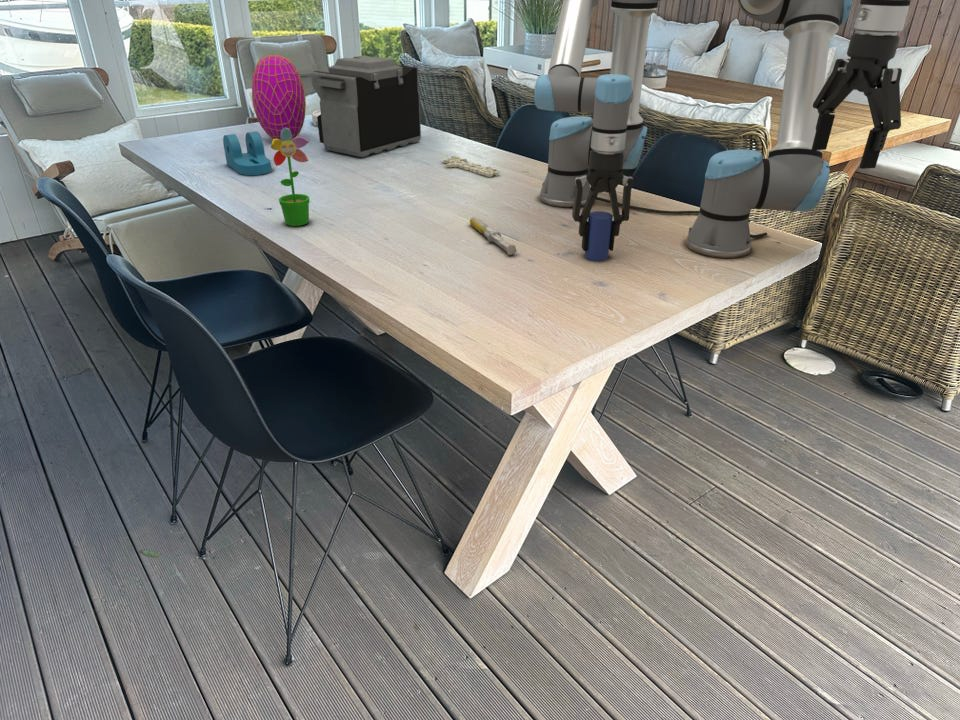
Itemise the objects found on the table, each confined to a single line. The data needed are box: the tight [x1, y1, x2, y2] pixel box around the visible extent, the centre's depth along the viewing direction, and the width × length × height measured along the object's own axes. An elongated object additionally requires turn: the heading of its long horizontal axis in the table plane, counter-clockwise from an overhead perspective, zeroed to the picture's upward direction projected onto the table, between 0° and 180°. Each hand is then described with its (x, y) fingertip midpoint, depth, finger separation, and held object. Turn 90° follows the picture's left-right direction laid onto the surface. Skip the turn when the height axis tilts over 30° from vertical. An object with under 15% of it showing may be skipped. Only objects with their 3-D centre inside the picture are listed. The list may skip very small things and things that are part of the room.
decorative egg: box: [251, 54, 307, 141], centre depth 257 cm, size 19×19×30 cm
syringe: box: [469, 216, 518, 256], centre depth 174 cm, size 25×4×3 cm, turn 21°
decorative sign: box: [442, 155, 499, 178], centre depth 232 cm, size 26×1×10 cm
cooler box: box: [310, 55, 422, 159], centre depth 250 cm, size 37×22×30 cm, turn 144°
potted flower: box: [270, 128, 310, 227], centre depth 177 cm, size 9×8×25 cm
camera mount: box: [222, 131, 272, 176], centre depth 226 cm, size 18×10×10 cm, turn 35°
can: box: [584, 210, 614, 262], centre depth 163 cm, size 6×6×10 cm
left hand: (597, 248), depth 164 cm, fingers closed on can, 6 cm apart
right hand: (841, 158), depth 128 cm, fingers open, 13 cm apart
